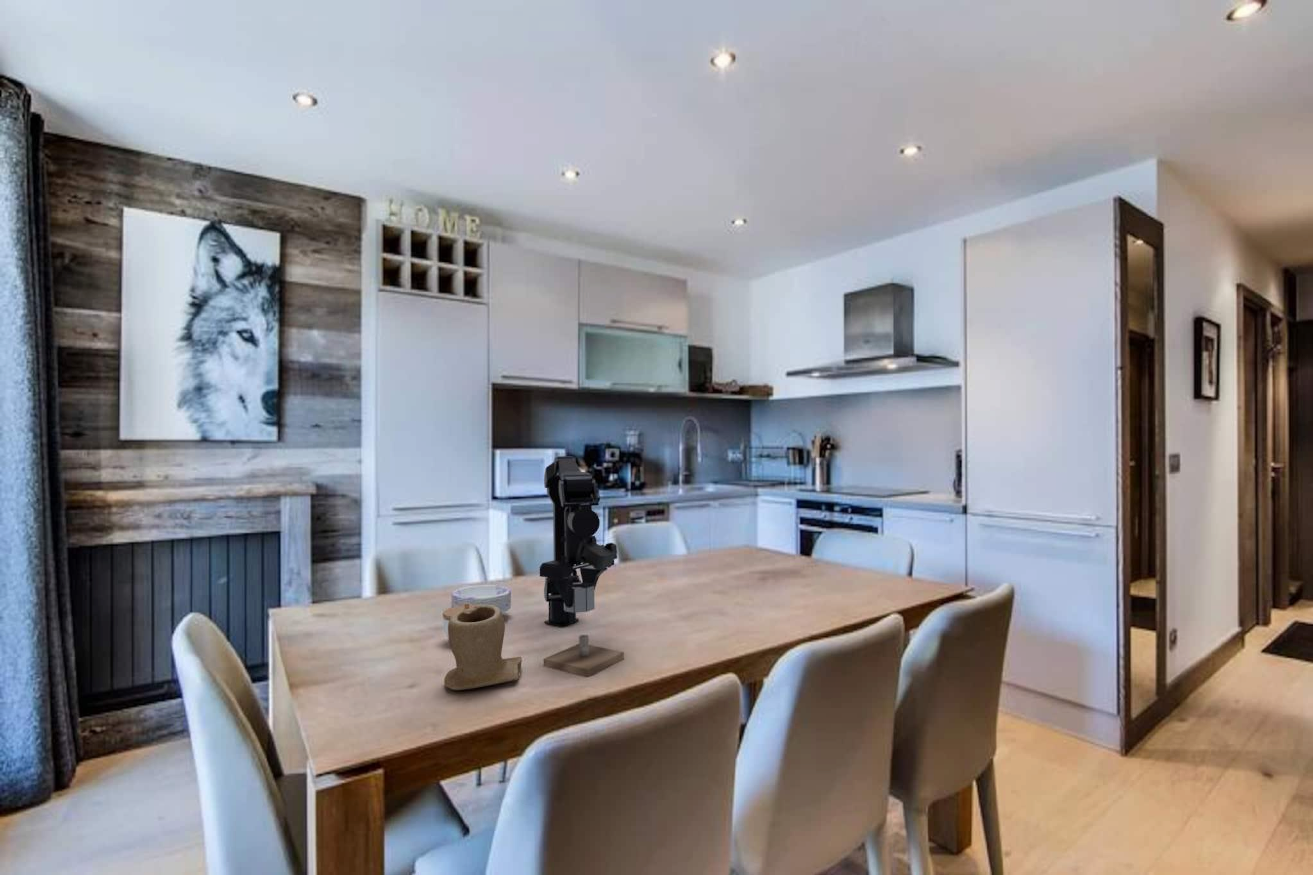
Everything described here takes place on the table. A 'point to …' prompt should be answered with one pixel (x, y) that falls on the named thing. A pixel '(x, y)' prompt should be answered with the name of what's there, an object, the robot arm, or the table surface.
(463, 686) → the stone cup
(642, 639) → the table surface
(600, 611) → the table surface
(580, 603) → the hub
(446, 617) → the lidded jar
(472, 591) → the paper bowls
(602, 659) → the block
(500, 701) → the table surface
